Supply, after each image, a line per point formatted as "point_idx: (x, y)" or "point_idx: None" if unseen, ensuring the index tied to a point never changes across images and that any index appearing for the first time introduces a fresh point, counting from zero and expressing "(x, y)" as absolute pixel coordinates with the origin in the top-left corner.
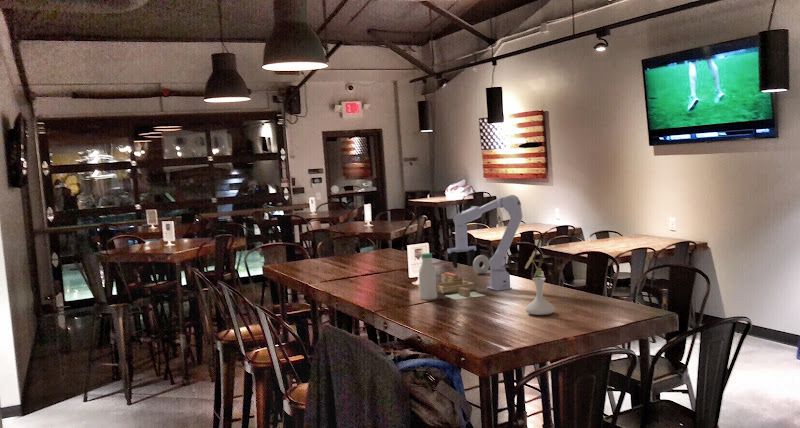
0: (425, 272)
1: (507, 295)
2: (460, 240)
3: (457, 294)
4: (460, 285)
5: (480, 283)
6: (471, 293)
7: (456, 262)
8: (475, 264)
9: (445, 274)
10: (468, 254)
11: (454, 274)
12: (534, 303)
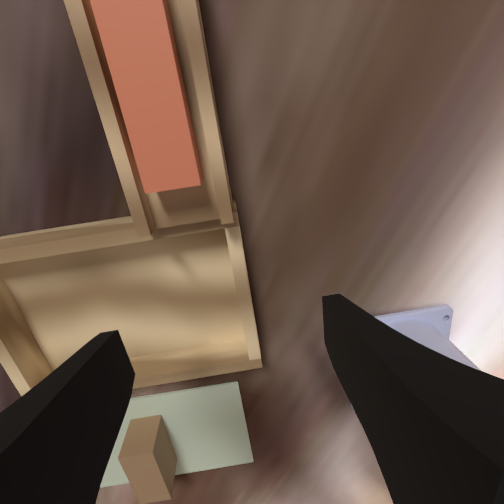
0: None
1: (333, 481)
2: None
3: (127, 411)
4: (158, 383)
5: (406, 146)
6: (205, 412)
7: (97, 460)
8: None
9: None
10: (424, 487)
11: (173, 143)
12: None
